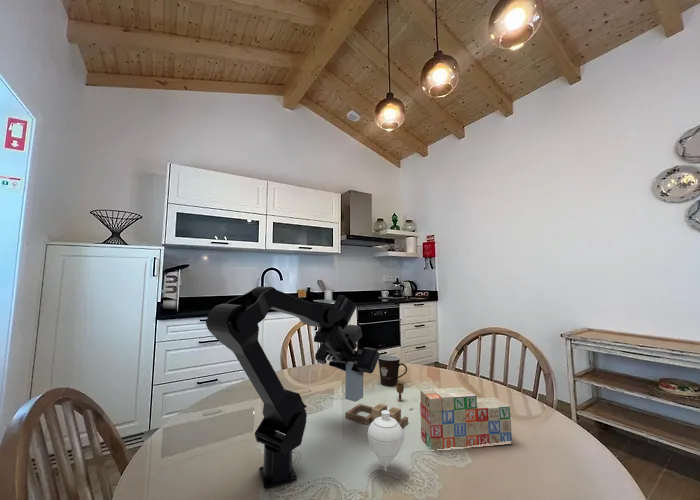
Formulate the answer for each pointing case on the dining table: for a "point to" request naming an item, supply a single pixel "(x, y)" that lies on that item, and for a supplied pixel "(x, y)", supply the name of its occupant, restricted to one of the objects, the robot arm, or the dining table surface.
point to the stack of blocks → (462, 419)
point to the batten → (353, 384)
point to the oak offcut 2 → (395, 413)
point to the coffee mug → (389, 370)
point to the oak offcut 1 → (377, 411)
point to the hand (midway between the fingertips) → (357, 373)
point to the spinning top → (385, 438)
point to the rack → (366, 420)
